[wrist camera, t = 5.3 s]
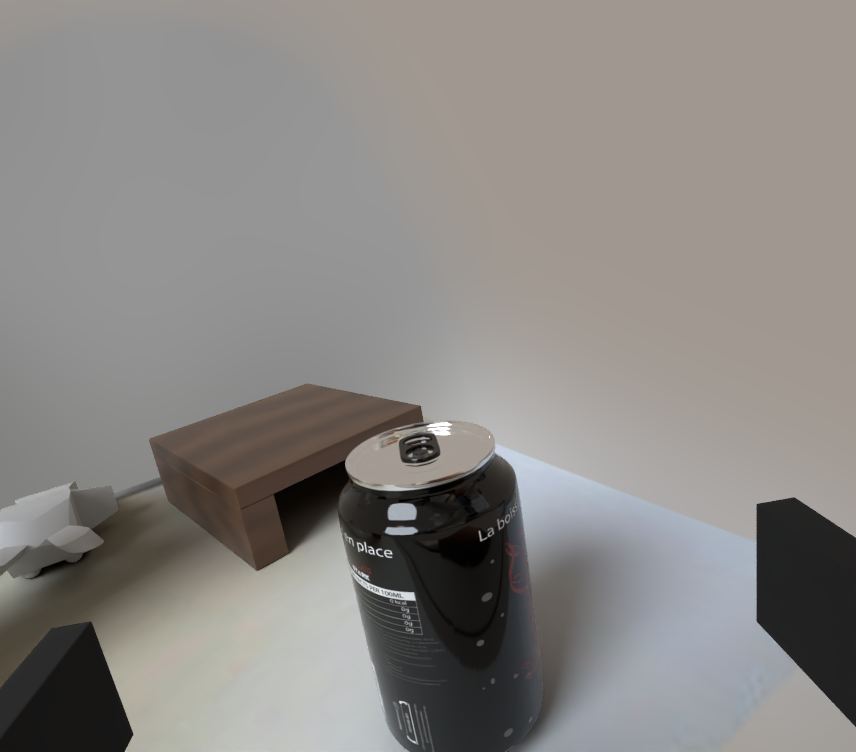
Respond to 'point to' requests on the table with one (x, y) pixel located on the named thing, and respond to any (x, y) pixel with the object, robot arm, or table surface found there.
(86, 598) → the table surface
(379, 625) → the beverage can
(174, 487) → the shelf
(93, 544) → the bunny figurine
